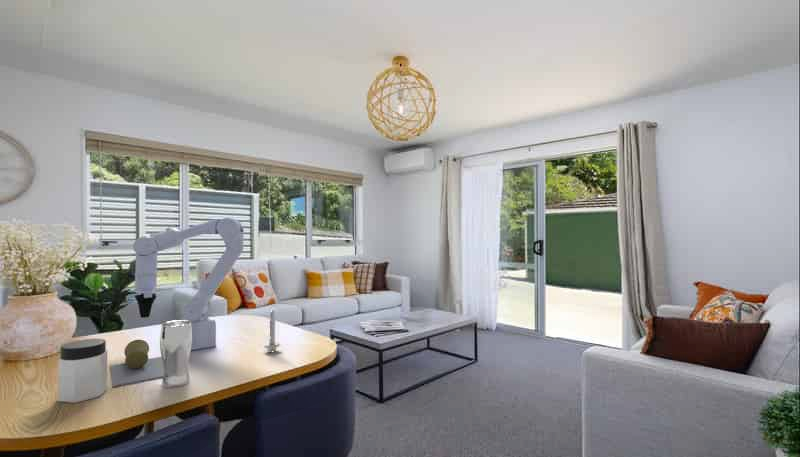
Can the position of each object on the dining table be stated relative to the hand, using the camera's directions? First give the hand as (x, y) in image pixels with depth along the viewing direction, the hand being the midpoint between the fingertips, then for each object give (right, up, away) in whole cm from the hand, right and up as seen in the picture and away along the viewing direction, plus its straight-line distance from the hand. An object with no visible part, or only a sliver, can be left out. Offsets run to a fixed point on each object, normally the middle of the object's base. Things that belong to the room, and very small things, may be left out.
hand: (144, 317), depth 122 cm
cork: (+4, -7, -9) cm, 13 cm away
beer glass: (+25, -11, -26) cm, 38 cm away
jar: (+8, -11, -33) cm, 36 cm away
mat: (+12, -10, -18) cm, 24 cm away
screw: (+41, -11, -1) cm, 42 cm away
